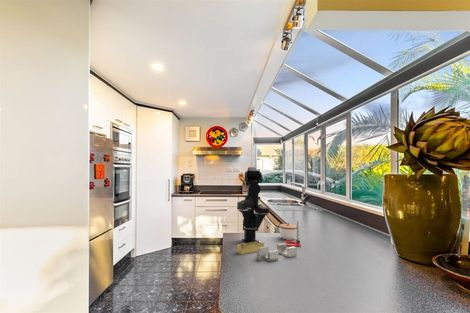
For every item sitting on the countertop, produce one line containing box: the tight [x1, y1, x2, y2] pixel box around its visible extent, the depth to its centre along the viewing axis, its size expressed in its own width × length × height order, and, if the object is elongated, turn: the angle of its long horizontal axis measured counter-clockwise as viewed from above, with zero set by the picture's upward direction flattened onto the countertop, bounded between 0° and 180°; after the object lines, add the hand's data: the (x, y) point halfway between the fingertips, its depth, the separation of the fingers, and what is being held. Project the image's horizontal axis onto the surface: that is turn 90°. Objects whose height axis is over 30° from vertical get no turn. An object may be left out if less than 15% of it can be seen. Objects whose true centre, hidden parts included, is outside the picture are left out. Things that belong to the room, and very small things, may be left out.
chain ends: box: [256, 242, 298, 263], centre depth 111 cm, size 8×23×4 cm, turn 124°
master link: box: [236, 240, 265, 255], centre depth 116 cm, size 4×14×5 cm, turn 124°
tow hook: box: [282, 221, 302, 247], centre depth 131 cm, size 8×13×9 cm
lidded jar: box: [278, 222, 297, 241], centre depth 144 cm, size 11×11×9 cm
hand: (251, 226), depth 117 cm, fingers open, 9 cm apart
